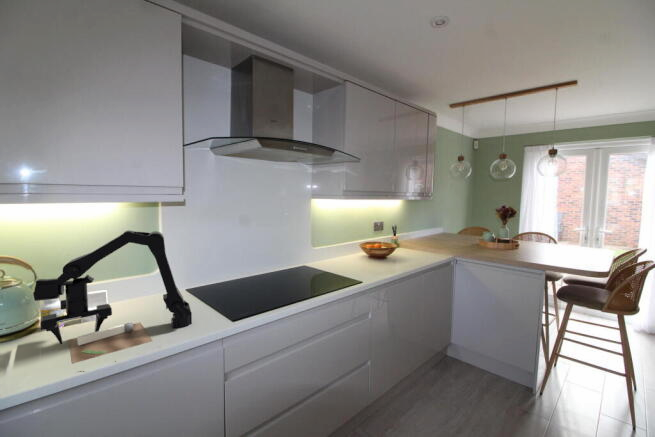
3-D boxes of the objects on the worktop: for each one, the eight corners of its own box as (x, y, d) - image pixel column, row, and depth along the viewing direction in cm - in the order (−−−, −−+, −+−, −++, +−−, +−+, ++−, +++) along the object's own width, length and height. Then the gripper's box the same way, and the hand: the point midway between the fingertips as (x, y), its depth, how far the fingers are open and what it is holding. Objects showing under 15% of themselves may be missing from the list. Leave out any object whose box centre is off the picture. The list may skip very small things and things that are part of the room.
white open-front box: (80, 326, 121) (78, 297, 120) (82, 318, 128) (81, 291, 127) (107, 321, 126) (106, 293, 125) (108, 314, 133) (107, 287, 132)
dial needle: (131, 328, 117) (131, 321, 117) (134, 330, 115) (134, 323, 115) (77, 343, 104) (76, 336, 104) (78, 347, 102) (78, 339, 102)
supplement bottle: (39, 329, 118) (37, 297, 117) (61, 323, 124) (59, 292, 123) (44, 334, 114) (42, 300, 113) (67, 327, 120) (65, 296, 119)
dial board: (140, 325, 123) (140, 321, 122) (153, 344, 108) (152, 340, 108) (69, 343, 108) (68, 338, 108) (72, 368, 93) (72, 363, 93)
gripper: (107, 284, 116) (108, 323, 118) (39, 295, 104) (42, 338, 105) (111, 293, 108) (113, 334, 110) (39, 305, 95) (42, 352, 97)
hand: (79, 339), depth 106 cm, fingers open, 9 cm apart
